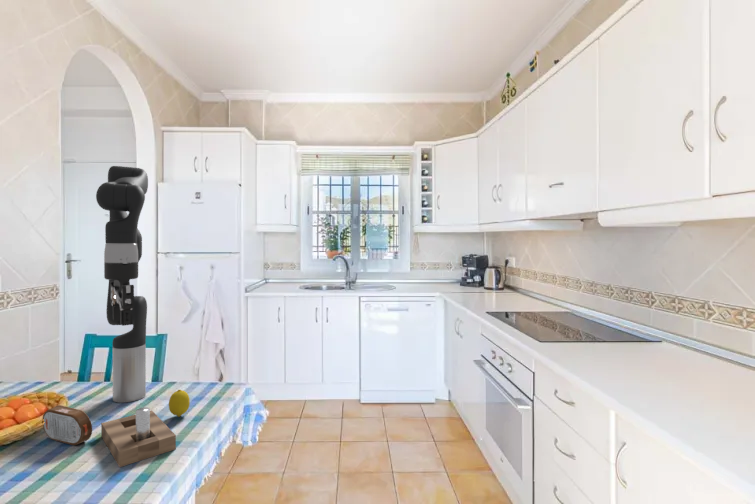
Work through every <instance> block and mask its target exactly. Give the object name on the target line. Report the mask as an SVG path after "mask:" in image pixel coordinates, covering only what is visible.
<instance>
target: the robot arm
mask: <svg viewBox="0 0 755 504" xmlns="http://www.w3.org/2000/svg"><path fill="white" fill-rule="evenodd" d="M148 188H149V177H148V174H147V171H146V170H145V169H143V168H140V167H132V166H131V167H130V166H120V165H112V166H110V167H109V168H108V172H107V181H106V182H104V183H102V184H100V186H99V187H98V188H97V191H96V194H95V199H96V203H97V205H99V207H100V208H101V209H103V210H104V211H108V212H109V221H107V222H106V223H105V227H104V228H105V234H104V235H105V236H104V237H105V245H104V251H103V252H104V253H103V255H104V256H103V257H104V258H103V260H104V263H103V265H104V267H103V268H104V269H103V270H104V271H103V272H104V275H103V276H104V277H103V278H104V279H105V280H108V287H107V299H106V319H107V322H108V324H109V325H111V326H132V329H131V330H128V332H126V333H122V334H119V335H117V336H115V337H114V338H113V339H112V401H113V402H114V403H130V402H136V401H139V400H141V399H143V398H144V397H146V394H147V391H146V386H147V385H146V384H147V382H146V381H147V378H146V377H147V376H146V374H147V373H146V371H147V368H146V367H147V366H146V363H147V361H146V359H147V357H146V355H147V353H146V351H147V350H146V349H147V348H146V346H147V345H146V344H147V343H146V342H147V341H146V340H147V338H146V336H147V315H148V303H147V299H146V297H144V296H143V295H135V290H134V289H135V285H134V284H130V280H136V279H138V278H139V262H140V261H141V259H142V255H143V237H142V234H141V232H140V230H139V229H138V225H139V220H140V216H141V213H142V210H143V208H144V207H143V206H144V203H145V201H146V200H145V199H146V194H147V192H148ZM127 212H128V213H127Z"/></svg>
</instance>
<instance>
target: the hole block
mask: <svg viewBox="0 0 755 504" xmlns="http://www.w3.org/2000/svg"><path fill="white" fill-rule="evenodd" d="M100 425H101V426H100V427H101V438H102V440H103V442H104V443H105V445H106V447H107V448H108V450H109V452H110V453H111V455H112V457H113V459H114V460H115V462H116V464H117V465H118V467H119V468H121V467H125V466H128V465H131V464H134V463H139V462H140V461H143V460H147V459H149V458H153V457H156V456H159V455H162V454H165V453H168V452H171V451H174V450H176V447H177V446H176V444H177V443H176V442H177V441H176V440H177V437H176V435H177V434H175V432H173V431H172V429H170V428H169V426H167V424H166V423H165V422H163V420H162V419H161V418H160V417H159V416H158V415H157V414H156V412H154V411H153V410H150V438H148V439H144V440H141V441H138V442H136V414H132V415H129V416H126V417H125V416H124V417H120V418H116V419H113V420H109V421H105V422H101V424H100Z"/></svg>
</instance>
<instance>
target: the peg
mask: <svg viewBox="0 0 755 504" xmlns="http://www.w3.org/2000/svg"><path fill="white" fill-rule="evenodd" d="M150 411H151V408H150V407H148V406H147V407H140V408H138V409H136V410H135V415H136V442H138V441H141V440H144V439H148V438H150Z"/></svg>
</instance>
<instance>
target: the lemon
mask: <svg viewBox="0 0 755 504" xmlns="http://www.w3.org/2000/svg"><path fill="white" fill-rule="evenodd" d="M190 403H191V401H190V397H189V394H188V392H187V391H185V390H182V389H177V391H174V392H173V393H172V394H171V395H170V397H169V400H168V410H169V412H170V413H171V414H172V415H174V416H177V417H178V418H180V417H181V416H183V415H184V414H185V413H187V411H188V410H189V408H190Z"/></svg>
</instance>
